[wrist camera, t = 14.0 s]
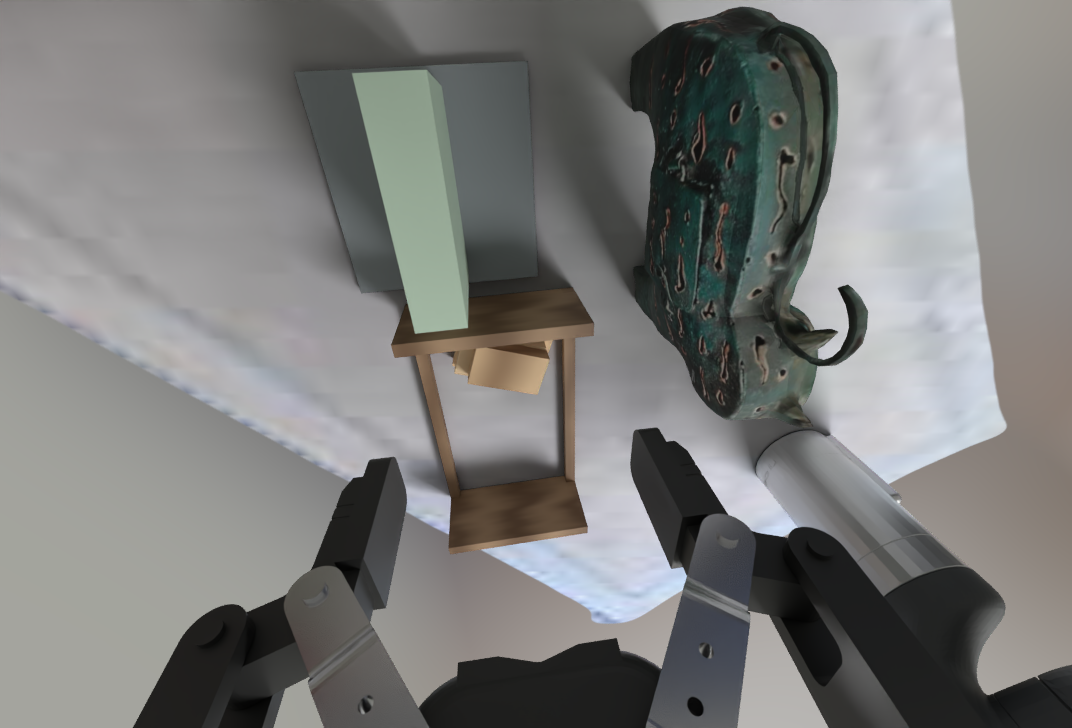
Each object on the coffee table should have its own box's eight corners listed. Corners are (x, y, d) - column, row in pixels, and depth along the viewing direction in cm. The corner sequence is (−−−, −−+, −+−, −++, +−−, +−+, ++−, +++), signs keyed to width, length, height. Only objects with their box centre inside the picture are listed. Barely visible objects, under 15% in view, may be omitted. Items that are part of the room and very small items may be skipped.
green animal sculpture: (681, 307, 36) (863, 470, 20) (613, 321, 36) (737, 498, 19) (695, 30, 26) (1123, -138, 9) (598, 48, 25) (846, -89, 9)
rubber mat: (526, 61, 25) (527, 60, 25) (537, 273, 33) (537, 276, 32) (297, 72, 24) (293, 71, 23) (362, 290, 31) (361, 293, 31)
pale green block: (441, 86, 25) (426, 69, 16) (468, 271, 31) (467, 327, 23) (392, 88, 25) (351, 73, 16) (430, 275, 31) (415, 333, 23)
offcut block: (550, 331, 36) (559, 356, 32) (536, 371, 38) (543, 399, 34) (462, 313, 34) (461, 338, 30) (453, 357, 36) (450, 385, 32)
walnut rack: (572, 287, 34) (593, 323, 28) (572, 480, 47) (587, 532, 41) (405, 304, 32) (391, 345, 27) (453, 497, 45) (450, 554, 39)
